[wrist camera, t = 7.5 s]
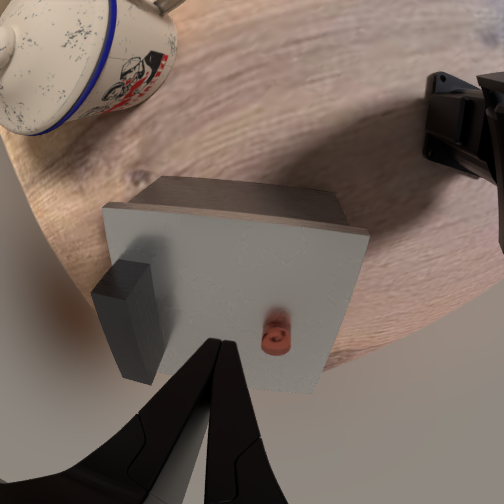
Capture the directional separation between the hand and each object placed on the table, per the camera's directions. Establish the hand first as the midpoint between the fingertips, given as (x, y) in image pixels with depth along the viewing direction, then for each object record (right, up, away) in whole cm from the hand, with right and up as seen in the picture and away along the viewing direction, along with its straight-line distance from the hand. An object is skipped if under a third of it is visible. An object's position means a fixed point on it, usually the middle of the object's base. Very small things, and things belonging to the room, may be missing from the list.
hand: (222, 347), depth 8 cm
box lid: (-1, -1, +8) cm, 8 cm away
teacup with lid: (-7, +17, +6) cm, 19 cm away
